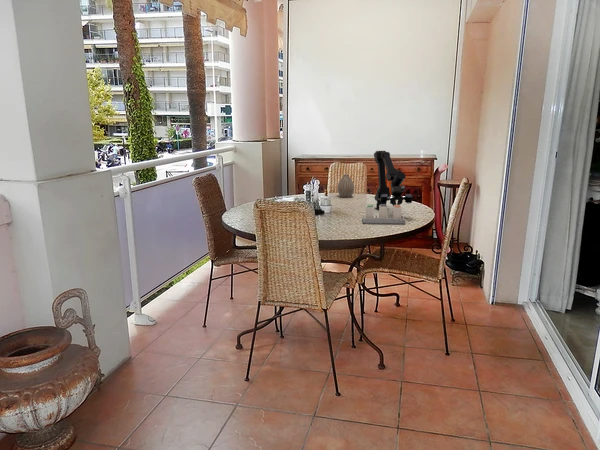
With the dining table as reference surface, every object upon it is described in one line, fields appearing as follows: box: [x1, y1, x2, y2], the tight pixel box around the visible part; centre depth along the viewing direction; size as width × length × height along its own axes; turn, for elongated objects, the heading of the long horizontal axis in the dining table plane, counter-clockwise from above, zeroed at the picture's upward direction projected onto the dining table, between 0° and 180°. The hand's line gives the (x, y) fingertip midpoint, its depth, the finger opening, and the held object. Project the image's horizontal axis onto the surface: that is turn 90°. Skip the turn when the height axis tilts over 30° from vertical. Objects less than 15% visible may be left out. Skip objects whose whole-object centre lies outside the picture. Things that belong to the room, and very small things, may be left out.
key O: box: [392, 204, 403, 219], centre depth 258 cm, size 4×4×9 cm
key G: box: [365, 204, 375, 218], centre depth 260 cm, size 4×4×9 cm
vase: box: [336, 174, 355, 198], centre depth 341 cm, size 13×13×18 cm
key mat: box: [361, 217, 406, 226], centre depth 260 cm, size 12×24×1 cm, turn 83°
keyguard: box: [362, 215, 407, 224], centre depth 259 cm, size 10×24×2 cm, turn 83°
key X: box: [378, 204, 388, 218], centre depth 261 cm, size 4×4×9 cm
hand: (396, 210), depth 260 cm, fingers closed, pressing on key O
